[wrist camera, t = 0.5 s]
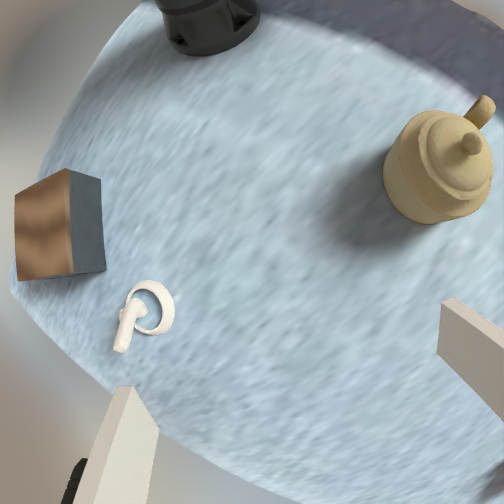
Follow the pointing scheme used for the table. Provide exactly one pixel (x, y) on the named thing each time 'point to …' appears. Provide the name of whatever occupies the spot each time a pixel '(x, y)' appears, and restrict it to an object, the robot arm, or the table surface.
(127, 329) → the white ring with handle
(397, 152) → the sugar bowl
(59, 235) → the block
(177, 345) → the table surface
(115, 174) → the table surface
